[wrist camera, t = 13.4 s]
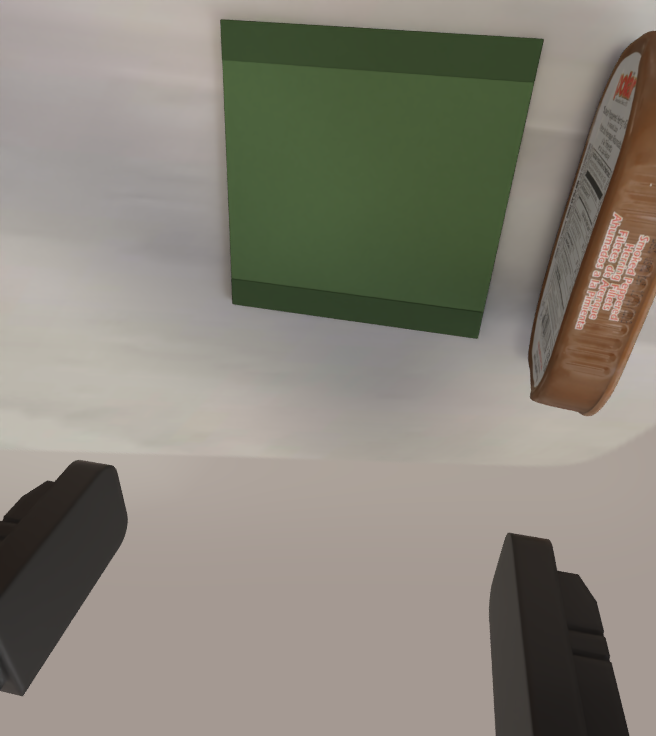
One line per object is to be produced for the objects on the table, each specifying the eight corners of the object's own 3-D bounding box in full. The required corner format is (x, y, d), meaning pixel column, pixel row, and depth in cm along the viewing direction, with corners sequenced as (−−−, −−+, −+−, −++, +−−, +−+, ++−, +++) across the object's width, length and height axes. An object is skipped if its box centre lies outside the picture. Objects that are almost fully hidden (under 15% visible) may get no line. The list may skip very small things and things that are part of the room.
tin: (570, 358, 30) (603, 459, 23) (510, 349, 30) (524, 444, 23) (687, 33, 22) (795, 31, 15) (604, 26, 22) (670, 21, 15)
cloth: (222, 19, 25) (220, 19, 25) (543, 39, 23) (544, 39, 23) (234, 301, 32) (232, 304, 32) (477, 336, 30) (477, 339, 30)
